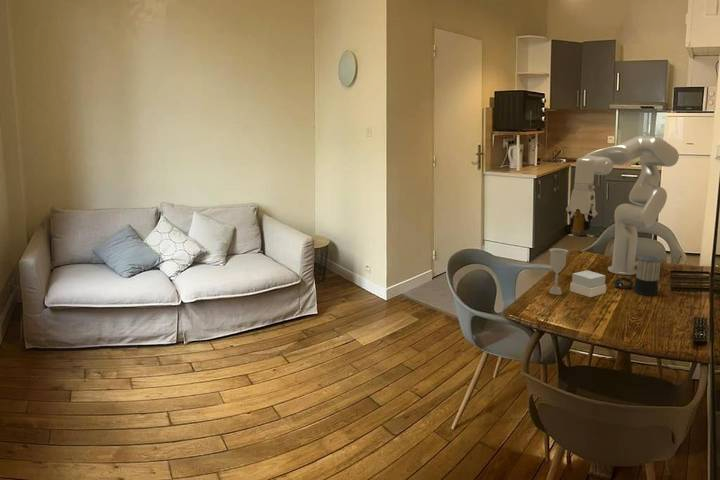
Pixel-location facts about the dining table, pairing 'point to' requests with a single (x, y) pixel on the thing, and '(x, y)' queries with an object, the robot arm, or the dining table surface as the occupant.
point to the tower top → (588, 279)
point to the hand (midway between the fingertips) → (579, 228)
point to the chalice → (557, 266)
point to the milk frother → (644, 276)
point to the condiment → (579, 225)
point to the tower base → (587, 290)
